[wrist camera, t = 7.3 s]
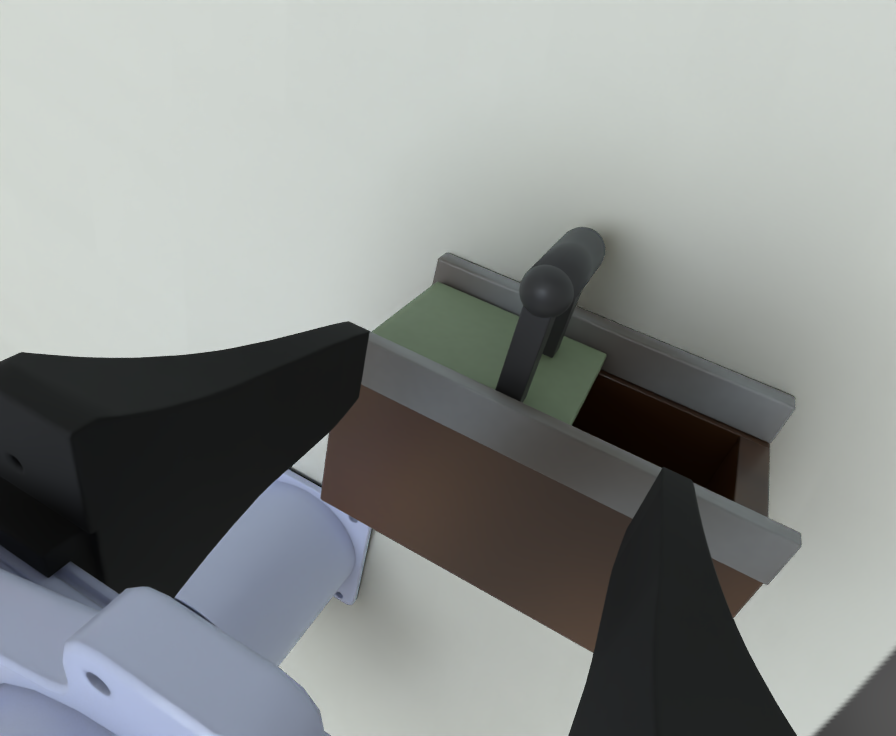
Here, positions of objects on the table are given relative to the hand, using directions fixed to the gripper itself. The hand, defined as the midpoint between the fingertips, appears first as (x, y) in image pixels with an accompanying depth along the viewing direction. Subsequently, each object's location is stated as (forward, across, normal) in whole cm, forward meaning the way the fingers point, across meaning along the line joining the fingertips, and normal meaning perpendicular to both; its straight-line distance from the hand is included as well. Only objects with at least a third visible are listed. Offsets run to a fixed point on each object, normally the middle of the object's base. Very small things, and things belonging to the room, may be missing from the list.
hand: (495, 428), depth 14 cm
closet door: (+8, +2, 0) cm, 8 cm away
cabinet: (+9, -1, +6) cm, 11 cm away
